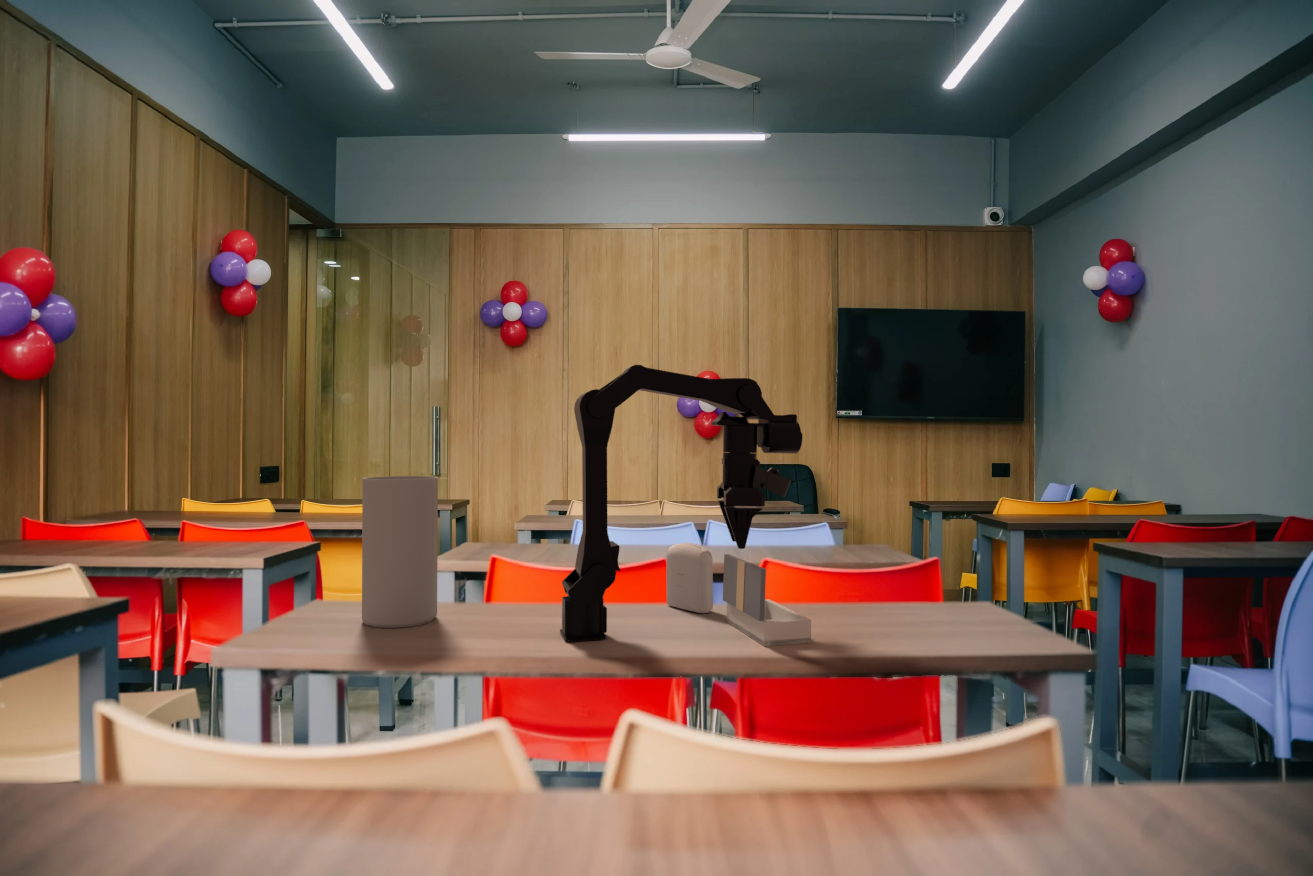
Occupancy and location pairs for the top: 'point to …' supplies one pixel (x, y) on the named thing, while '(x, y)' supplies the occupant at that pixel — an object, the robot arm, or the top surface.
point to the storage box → (772, 625)
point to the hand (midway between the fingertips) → (738, 544)
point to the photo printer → (689, 577)
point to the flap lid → (744, 586)
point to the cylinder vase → (399, 550)
